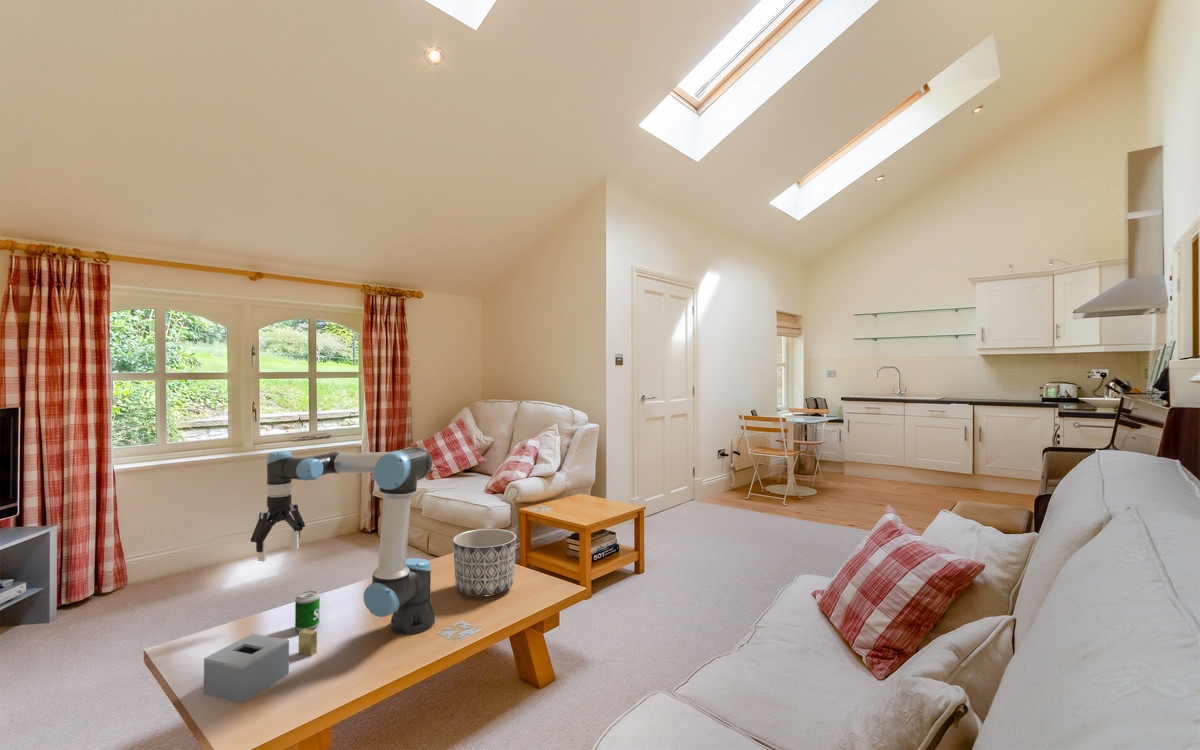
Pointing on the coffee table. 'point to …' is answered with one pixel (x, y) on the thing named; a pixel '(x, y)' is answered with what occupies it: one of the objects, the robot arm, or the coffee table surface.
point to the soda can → (307, 610)
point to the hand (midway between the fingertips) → (278, 554)
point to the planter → (484, 561)
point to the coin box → (246, 667)
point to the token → (307, 642)
